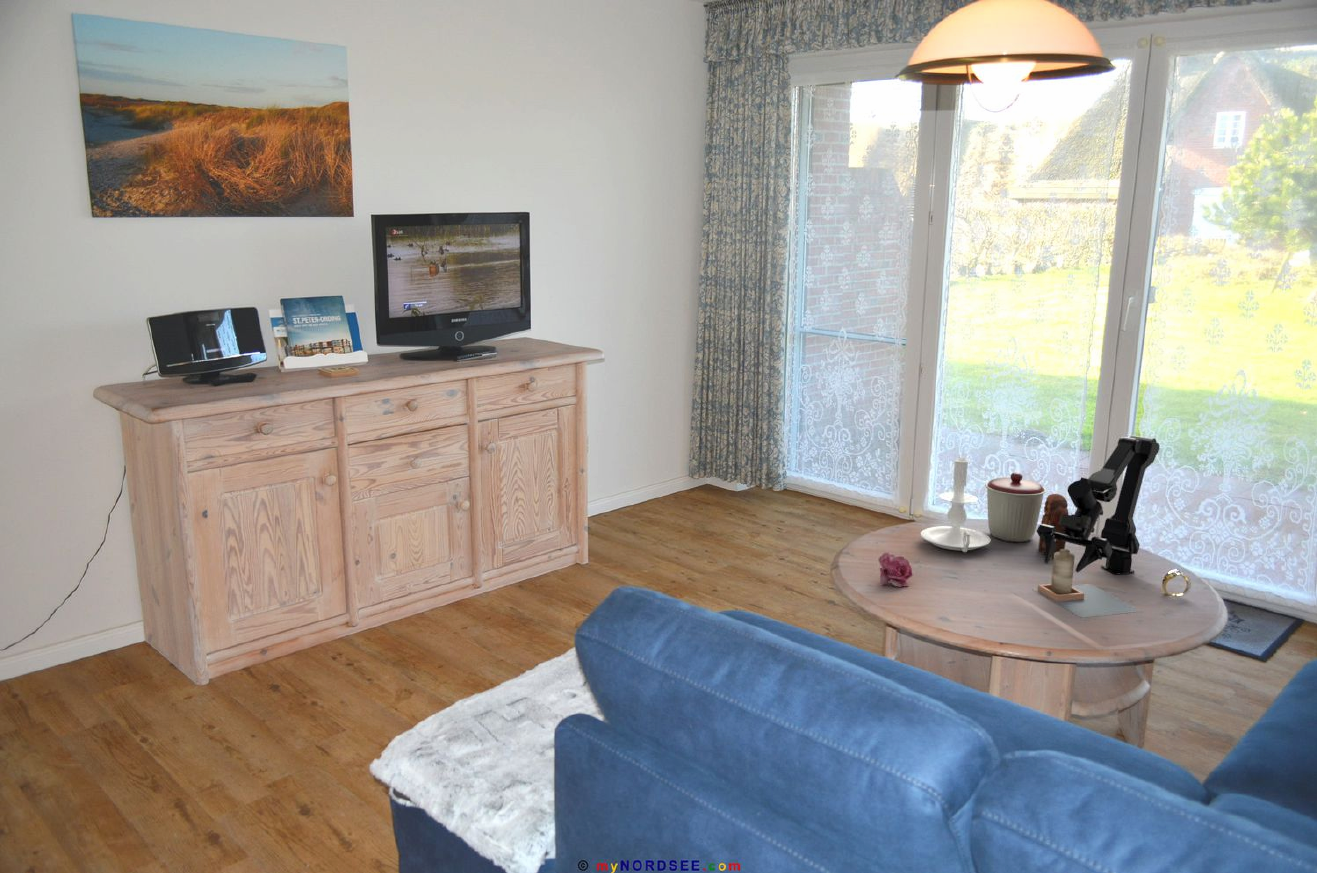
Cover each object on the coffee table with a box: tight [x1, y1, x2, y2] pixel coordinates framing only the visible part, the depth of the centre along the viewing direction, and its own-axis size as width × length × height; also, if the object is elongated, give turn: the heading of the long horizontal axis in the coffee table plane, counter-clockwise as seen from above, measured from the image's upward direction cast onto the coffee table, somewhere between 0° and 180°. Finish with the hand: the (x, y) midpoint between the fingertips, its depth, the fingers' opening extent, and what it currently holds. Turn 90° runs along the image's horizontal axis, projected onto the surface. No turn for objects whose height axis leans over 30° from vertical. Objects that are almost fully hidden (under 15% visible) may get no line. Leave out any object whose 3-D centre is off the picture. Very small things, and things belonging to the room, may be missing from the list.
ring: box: [1161, 568, 1192, 599], centre depth 263 cm, size 7×3×8 cm, turn 79°
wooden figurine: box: [1038, 493, 1069, 559], centre depth 298 cm, size 12×6×18 cm, turn 176°
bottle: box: [1050, 548, 1075, 595], centre depth 262 cm, size 5×5×12 cm
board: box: [1032, 583, 1143, 619], centre depth 259 cm, size 20×18×2 cm
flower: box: [878, 552, 913, 588], centre depth 273 cm, size 10×9×9 cm
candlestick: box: [920, 457, 992, 553], centre depth 300 cm, size 21×25×28 cm
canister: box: [984, 471, 1047, 543], centre depth 312 cm, size 18×18×21 cm
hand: (1060, 567), depth 261 cm, fingers open, 8 cm apart
